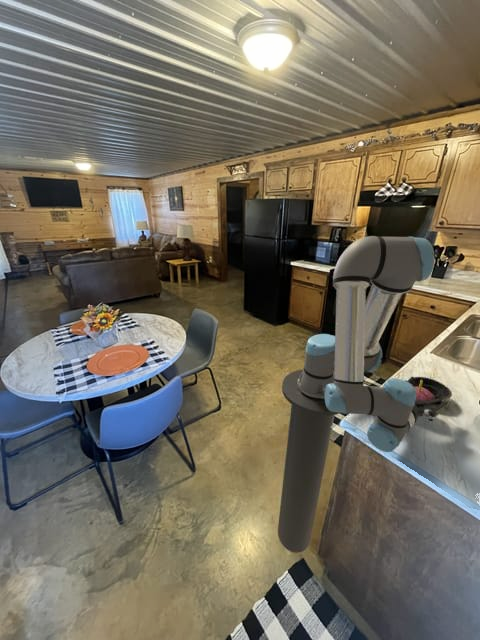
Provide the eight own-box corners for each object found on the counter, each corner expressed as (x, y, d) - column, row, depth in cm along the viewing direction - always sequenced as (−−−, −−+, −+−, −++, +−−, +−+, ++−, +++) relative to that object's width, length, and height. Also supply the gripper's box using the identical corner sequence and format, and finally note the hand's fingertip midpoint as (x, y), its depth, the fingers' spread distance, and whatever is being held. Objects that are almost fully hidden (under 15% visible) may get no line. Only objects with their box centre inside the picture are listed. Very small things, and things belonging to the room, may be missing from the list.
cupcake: (419, 417, 88) (430, 388, 83) (397, 401, 95) (405, 373, 91) (436, 410, 91) (447, 382, 86) (413, 395, 98) (422, 368, 94)
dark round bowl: (401, 396, 103) (404, 385, 101) (413, 382, 111) (416, 372, 109) (441, 415, 94) (445, 404, 92) (451, 399, 101) (456, 388, 100)
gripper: (365, 406, 89) (392, 380, 102) (438, 446, 74) (459, 410, 87) (369, 388, 86) (397, 364, 99) (447, 425, 71) (467, 391, 84)
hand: (426, 385), depth 93 cm, fingers closed on cupcake, 8 cm apart
